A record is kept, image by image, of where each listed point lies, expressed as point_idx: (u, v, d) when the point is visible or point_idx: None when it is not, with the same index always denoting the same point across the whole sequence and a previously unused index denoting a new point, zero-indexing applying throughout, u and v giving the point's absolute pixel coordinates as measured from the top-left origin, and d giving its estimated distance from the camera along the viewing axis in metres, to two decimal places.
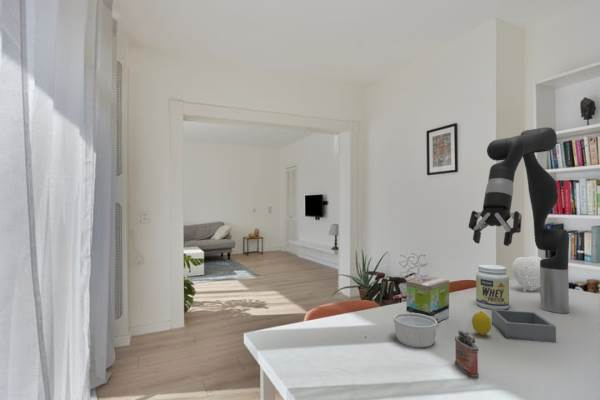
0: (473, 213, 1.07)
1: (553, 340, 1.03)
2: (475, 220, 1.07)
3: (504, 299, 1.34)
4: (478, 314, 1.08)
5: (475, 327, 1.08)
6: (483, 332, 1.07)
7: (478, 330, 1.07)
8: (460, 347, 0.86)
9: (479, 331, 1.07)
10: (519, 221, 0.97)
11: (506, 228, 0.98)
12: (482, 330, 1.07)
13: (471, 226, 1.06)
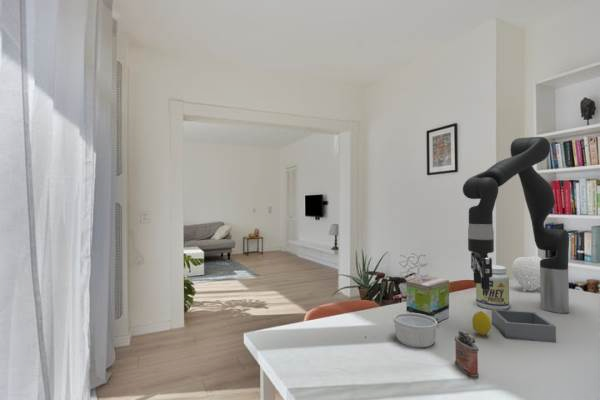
0: (471, 254, 1.15)
1: (553, 340, 1.03)
2: None
3: (504, 299, 1.34)
4: (478, 314, 1.08)
5: (475, 327, 1.08)
6: (483, 332, 1.07)
7: (478, 330, 1.07)
8: (460, 347, 0.86)
9: (479, 331, 1.07)
10: (487, 267, 1.02)
11: (480, 273, 1.05)
12: (482, 330, 1.07)
13: (472, 267, 1.15)
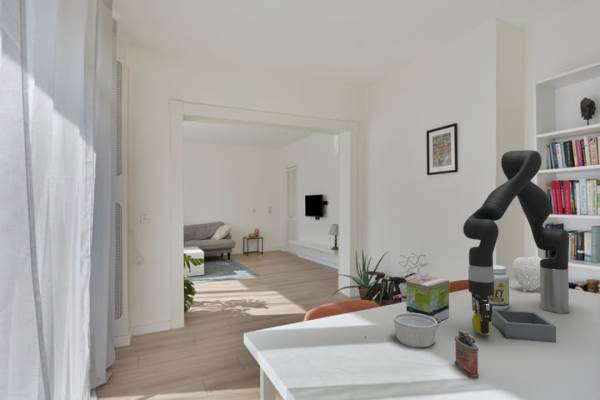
0: (472, 296, 1.15)
1: (553, 340, 1.03)
2: None
3: (504, 299, 1.34)
4: (478, 314, 1.08)
5: (475, 327, 1.08)
6: None
7: (478, 330, 1.07)
8: (460, 347, 0.86)
9: (479, 331, 1.07)
10: (487, 313, 1.03)
11: (480, 317, 1.06)
12: None
13: (473, 309, 1.14)
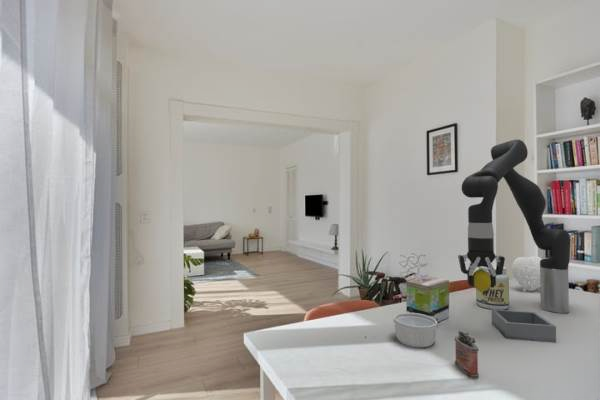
0: (462, 258, 1.09)
1: (553, 340, 1.03)
2: None
3: (505, 299, 1.34)
4: (485, 272, 1.08)
5: (488, 285, 1.07)
6: None
7: (489, 287, 1.07)
8: (460, 347, 0.86)
9: (488, 288, 1.08)
10: None
11: (492, 272, 1.07)
12: None
13: (465, 272, 1.09)
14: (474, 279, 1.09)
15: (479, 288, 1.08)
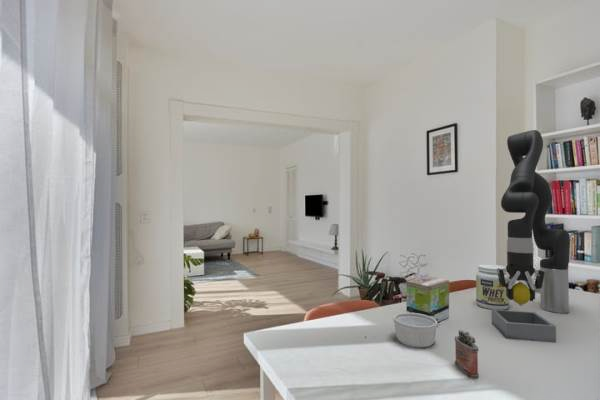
0: (501, 272, 1.12)
1: (553, 340, 1.03)
2: None
3: (504, 299, 1.34)
4: (524, 285, 1.10)
5: (527, 299, 1.09)
6: None
7: (528, 300, 1.10)
8: (460, 347, 0.86)
9: None
10: None
11: (532, 286, 1.10)
12: None
13: (505, 285, 1.12)
14: (513, 292, 1.11)
15: (518, 301, 1.10)
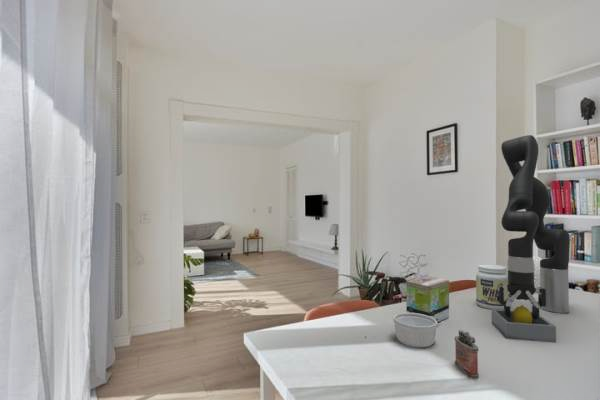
0: (502, 289, 1.12)
1: (553, 340, 1.03)
2: None
3: (504, 299, 1.34)
4: (526, 309, 1.10)
5: (529, 323, 1.09)
6: None
7: None
8: (460, 347, 0.86)
9: None
10: None
11: (536, 304, 1.09)
12: None
13: (502, 302, 1.12)
14: (515, 316, 1.11)
15: None
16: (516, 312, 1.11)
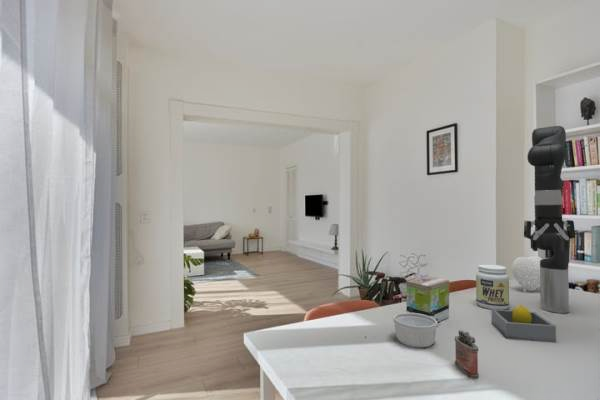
0: (529, 223, 1.12)
1: (553, 340, 1.03)
2: None
3: (505, 299, 1.34)
4: (526, 309, 1.10)
5: (529, 323, 1.09)
6: None
7: None
8: (460, 347, 0.86)
9: None
10: None
11: (565, 237, 1.10)
12: None
13: (529, 236, 1.12)
14: (515, 316, 1.11)
15: None
16: (515, 312, 1.11)
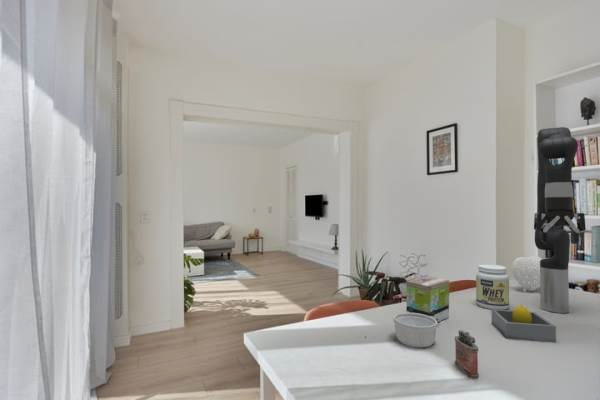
0: (539, 215, 1.12)
1: (553, 340, 1.03)
2: None
3: (504, 299, 1.34)
4: (526, 309, 1.10)
5: (529, 323, 1.09)
6: None
7: None
8: (460, 347, 0.86)
9: None
10: None
11: (575, 229, 1.10)
12: None
13: (540, 228, 1.12)
14: (515, 316, 1.11)
15: None
16: (516, 312, 1.11)
